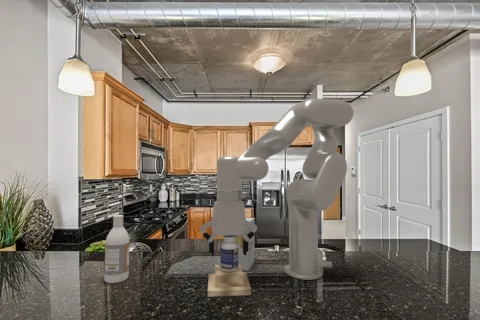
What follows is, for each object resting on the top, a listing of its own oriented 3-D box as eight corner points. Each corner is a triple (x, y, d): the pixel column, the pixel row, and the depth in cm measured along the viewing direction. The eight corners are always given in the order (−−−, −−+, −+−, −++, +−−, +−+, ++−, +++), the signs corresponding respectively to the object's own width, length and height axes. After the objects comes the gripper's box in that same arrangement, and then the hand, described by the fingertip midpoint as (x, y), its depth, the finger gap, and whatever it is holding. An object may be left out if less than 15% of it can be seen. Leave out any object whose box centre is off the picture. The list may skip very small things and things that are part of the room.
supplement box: (222, 268, 90) (223, 220, 91) (231, 259, 99) (231, 216, 100) (248, 271, 87) (249, 221, 88) (255, 262, 96) (255, 217, 97)
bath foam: (127, 282, 78) (129, 216, 79) (102, 285, 76) (104, 217, 77) (129, 273, 85) (130, 213, 86) (105, 276, 82) (108, 214, 83)
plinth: (245, 277, 82) (246, 261, 83) (251, 294, 70) (251, 276, 71) (208, 278, 81) (208, 262, 81) (207, 296, 69) (207, 278, 69)
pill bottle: (236, 273, 73) (236, 238, 73) (218, 271, 74) (218, 237, 74) (240, 266, 78) (240, 234, 79) (223, 265, 79) (223, 233, 80)
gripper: (255, 196, 82) (255, 250, 81) (201, 196, 80) (200, 251, 79) (259, 198, 74) (259, 257, 73) (199, 198, 72) (198, 259, 72)
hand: (228, 254), depth 76 cm, fingers open, 9 cm apart
